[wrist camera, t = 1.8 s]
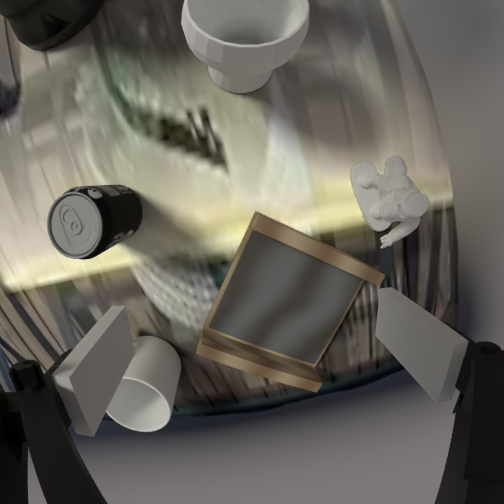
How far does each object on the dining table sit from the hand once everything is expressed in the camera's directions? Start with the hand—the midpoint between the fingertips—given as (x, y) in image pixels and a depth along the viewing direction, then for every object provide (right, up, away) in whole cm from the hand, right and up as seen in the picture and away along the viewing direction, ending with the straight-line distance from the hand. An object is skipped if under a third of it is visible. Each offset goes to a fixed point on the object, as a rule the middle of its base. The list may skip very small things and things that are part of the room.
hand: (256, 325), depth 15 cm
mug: (-15, -9, +24) cm, 30 cm away
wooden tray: (+4, -2, +23) cm, 24 cm away
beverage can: (-16, +8, +20) cm, 27 cm away
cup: (-2, +26, +17) cm, 31 cm away
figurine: (+14, +10, +22) cm, 28 cm away
